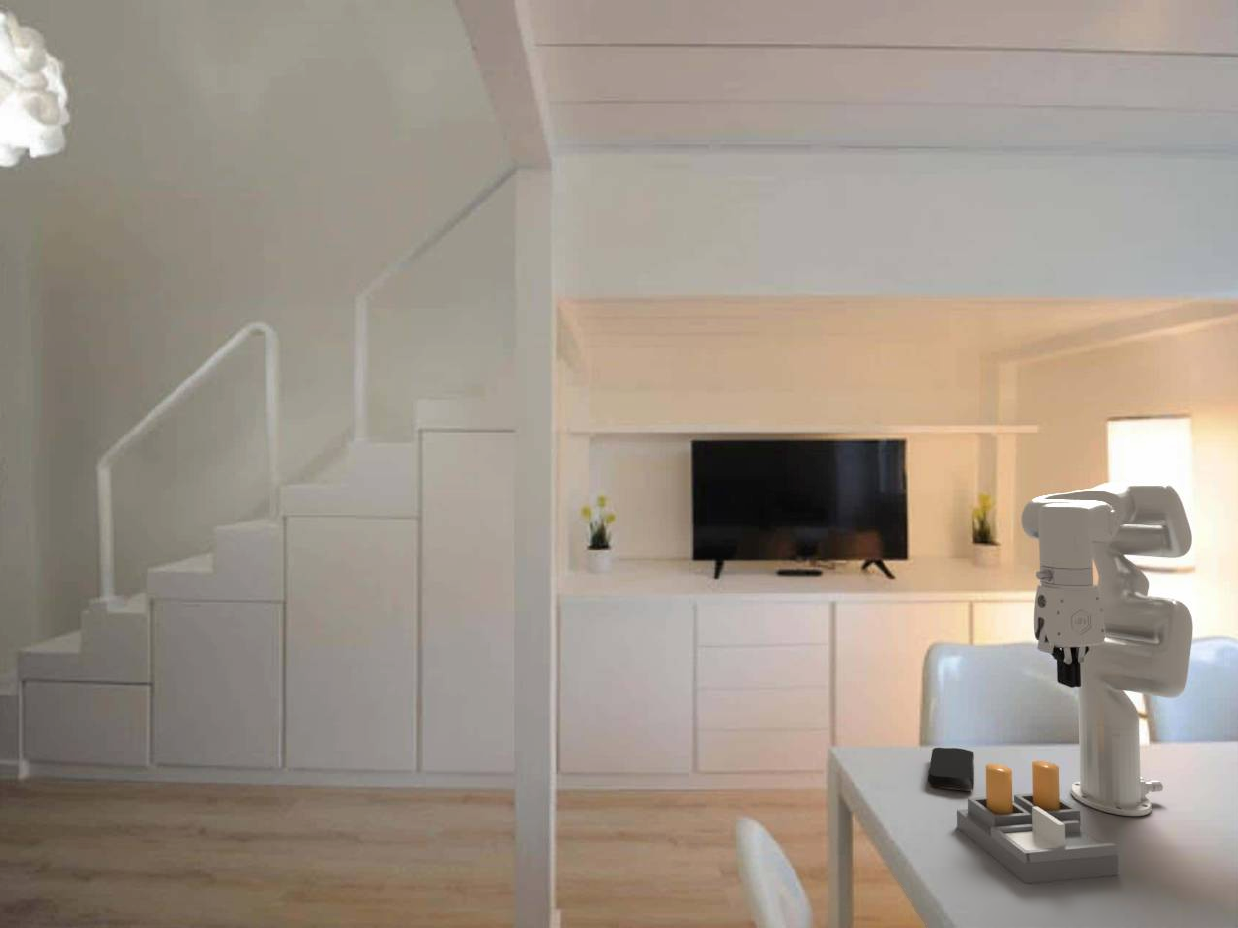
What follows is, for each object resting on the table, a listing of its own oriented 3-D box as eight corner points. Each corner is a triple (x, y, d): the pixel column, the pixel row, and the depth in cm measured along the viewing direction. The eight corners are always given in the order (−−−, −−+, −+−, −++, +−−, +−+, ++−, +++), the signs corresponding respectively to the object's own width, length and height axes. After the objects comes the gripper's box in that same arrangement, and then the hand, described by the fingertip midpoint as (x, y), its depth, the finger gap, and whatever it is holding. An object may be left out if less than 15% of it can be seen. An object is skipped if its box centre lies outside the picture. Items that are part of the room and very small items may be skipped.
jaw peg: (1002, 814, 119) (1001, 763, 120) (1018, 825, 115) (1017, 772, 116) (981, 815, 119) (980, 764, 119) (996, 827, 115) (995, 774, 115)
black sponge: (974, 798, 132) (973, 779, 132) (927, 789, 136) (926, 771, 136) (974, 766, 146) (974, 749, 147) (931, 759, 150) (931, 742, 151)
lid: (1038, 834, 112) (1037, 806, 112) (1065, 854, 106) (1064, 824, 106) (999, 838, 111) (998, 809, 111) (1024, 857, 105) (1024, 827, 105)
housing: (1045, 819, 123) (1044, 753, 123) (1126, 873, 106) (1125, 797, 107) (957, 826, 121) (955, 759, 121) (1025, 883, 104) (1024, 805, 104)
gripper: (1044, 582, 109) (1047, 695, 109) (1124, 577, 111) (1127, 688, 111) (1010, 575, 116) (1013, 681, 116) (1085, 571, 119) (1088, 674, 119)
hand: (1069, 684), depth 114 cm, fingers closed
